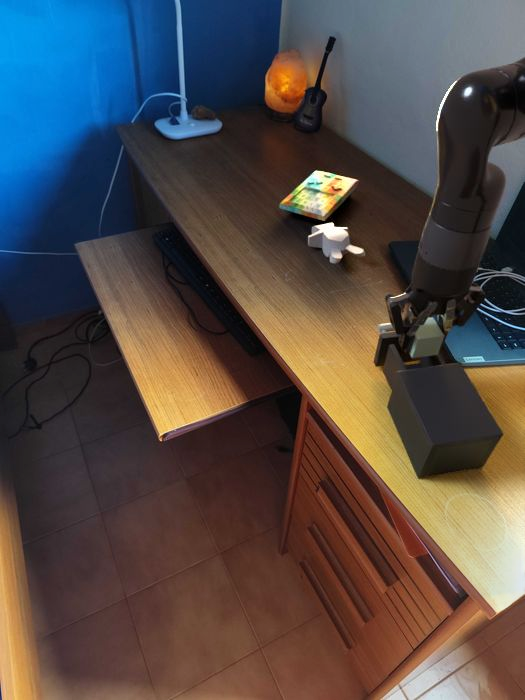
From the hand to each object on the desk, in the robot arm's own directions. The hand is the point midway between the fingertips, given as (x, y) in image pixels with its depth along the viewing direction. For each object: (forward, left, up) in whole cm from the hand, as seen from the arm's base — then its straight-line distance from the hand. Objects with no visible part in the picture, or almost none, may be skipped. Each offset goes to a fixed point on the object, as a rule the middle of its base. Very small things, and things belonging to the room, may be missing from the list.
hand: (420, 346), depth 70 cm
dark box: (0, +10, -9) cm, 14 cm away
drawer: (0, -2, -8) cm, 8 cm away
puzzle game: (0, -59, -9) cm, 60 cm away
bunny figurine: (+2, -39, -9) cm, 40 cm away
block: (0, 0, 0) cm, 0 cm away
